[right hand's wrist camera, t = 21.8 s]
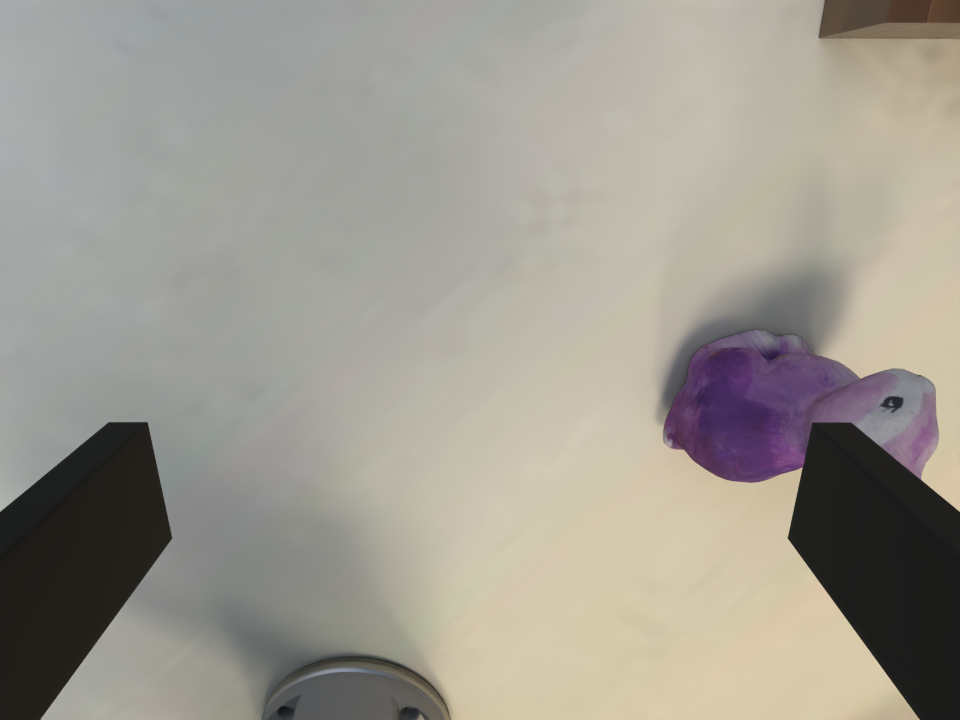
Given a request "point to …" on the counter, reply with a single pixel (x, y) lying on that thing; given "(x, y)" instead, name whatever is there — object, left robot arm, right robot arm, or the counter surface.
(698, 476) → the counter surface
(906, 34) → the peg board
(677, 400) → the figurine
